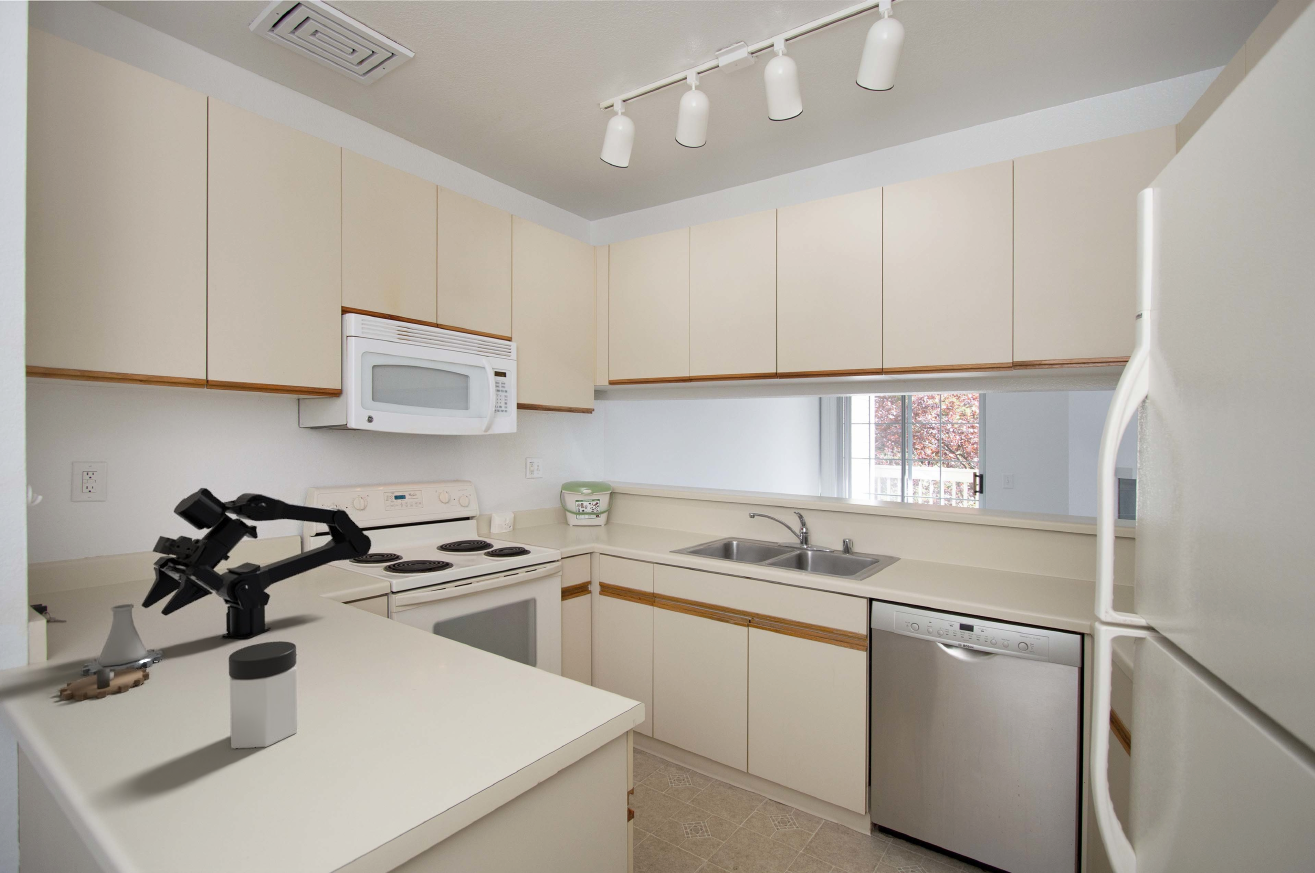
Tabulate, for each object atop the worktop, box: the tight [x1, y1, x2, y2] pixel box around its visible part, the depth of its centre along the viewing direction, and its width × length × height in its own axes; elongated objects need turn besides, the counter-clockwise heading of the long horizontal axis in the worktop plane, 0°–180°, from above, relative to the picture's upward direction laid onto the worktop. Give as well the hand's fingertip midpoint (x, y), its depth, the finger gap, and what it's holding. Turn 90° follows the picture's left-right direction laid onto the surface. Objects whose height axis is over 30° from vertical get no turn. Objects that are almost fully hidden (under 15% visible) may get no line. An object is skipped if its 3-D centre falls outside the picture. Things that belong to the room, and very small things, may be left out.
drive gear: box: [59, 667, 150, 702], centre depth 105 cm, size 11×11×4 cm
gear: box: [81, 648, 163, 677], centre depth 115 cm, size 11×11×1 cm
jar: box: [228, 640, 299, 750], centre depth 88 cm, size 9×8×12 cm
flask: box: [97, 603, 148, 666], centre depth 115 cm, size 7×7×10 cm
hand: (153, 610), depth 119 cm, fingers open, 9 cm apart
